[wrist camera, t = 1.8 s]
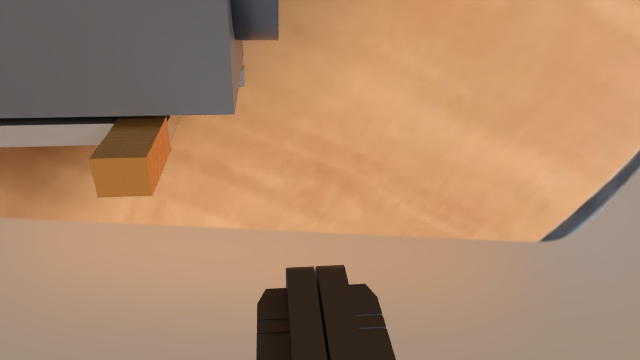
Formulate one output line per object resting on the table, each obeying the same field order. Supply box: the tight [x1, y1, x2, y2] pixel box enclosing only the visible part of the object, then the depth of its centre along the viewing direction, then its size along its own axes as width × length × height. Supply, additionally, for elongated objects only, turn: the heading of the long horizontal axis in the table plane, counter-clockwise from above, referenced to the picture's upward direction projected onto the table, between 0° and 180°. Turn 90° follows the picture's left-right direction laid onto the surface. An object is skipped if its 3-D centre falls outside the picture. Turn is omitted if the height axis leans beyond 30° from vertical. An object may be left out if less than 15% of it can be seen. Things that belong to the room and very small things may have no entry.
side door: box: [0, 115, 182, 197], centre depth 23 cm, size 12×2×12 cm, turn 89°
